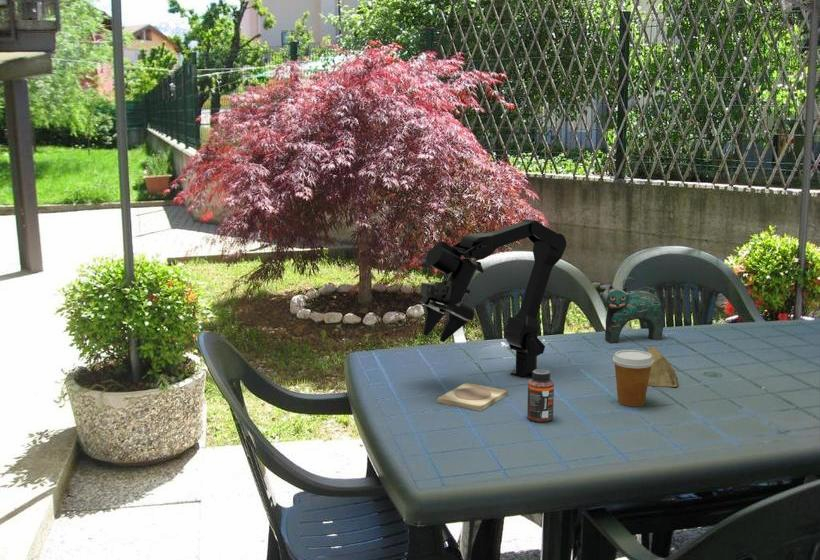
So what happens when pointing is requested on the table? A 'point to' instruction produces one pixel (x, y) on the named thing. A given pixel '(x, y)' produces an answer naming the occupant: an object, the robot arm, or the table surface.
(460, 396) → the board
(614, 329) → the ceramic cat
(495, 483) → the table surface
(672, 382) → the rock
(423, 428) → the table surface
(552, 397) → the supplement bottle
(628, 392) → the disposable coffee cup
